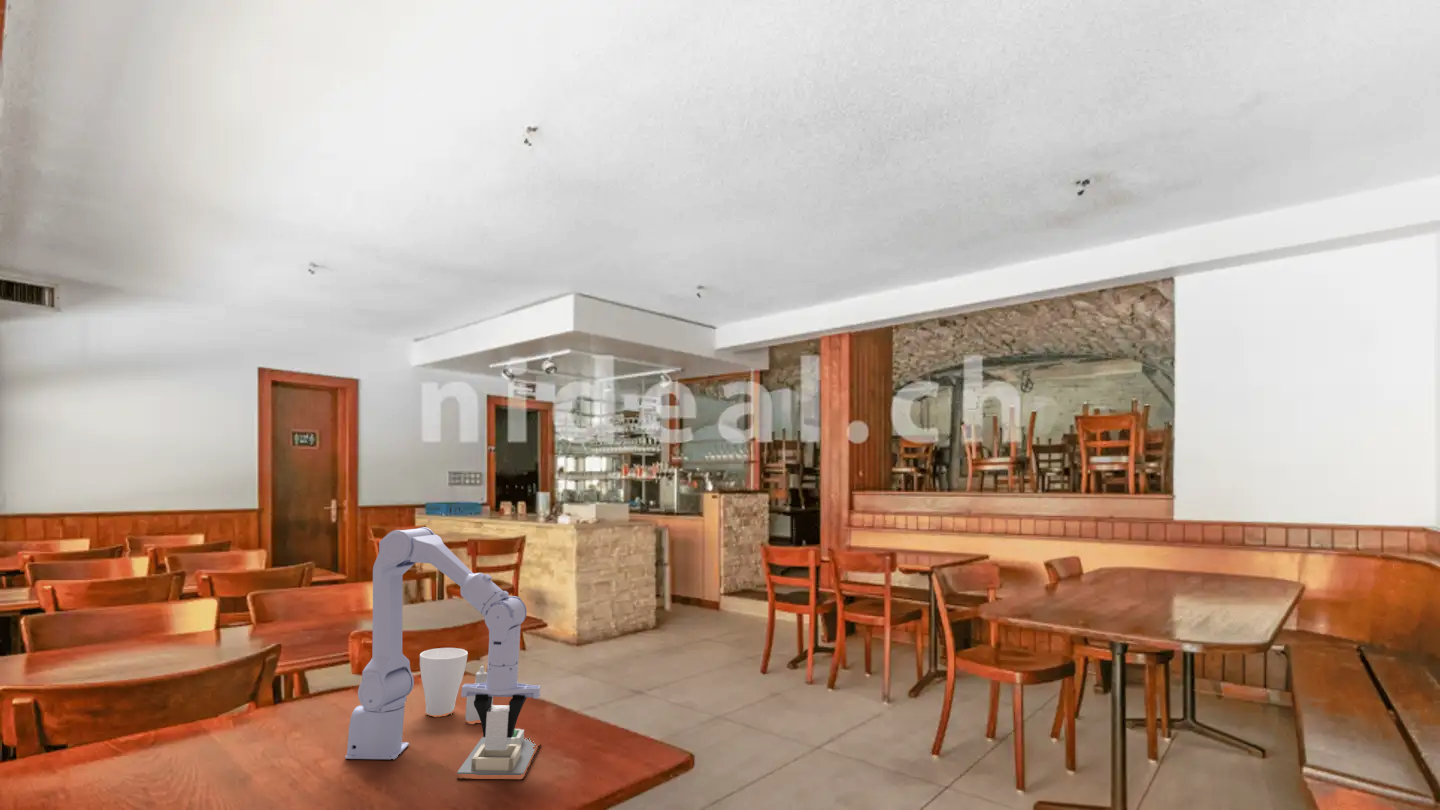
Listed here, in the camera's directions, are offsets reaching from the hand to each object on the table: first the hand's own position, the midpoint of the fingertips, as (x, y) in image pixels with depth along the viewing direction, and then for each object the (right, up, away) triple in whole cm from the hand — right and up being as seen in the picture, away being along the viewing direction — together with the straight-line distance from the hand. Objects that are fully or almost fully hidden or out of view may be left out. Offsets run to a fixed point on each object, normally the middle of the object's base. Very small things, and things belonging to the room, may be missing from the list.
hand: (498, 735), depth 143 cm
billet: (0, -2, 0) cm, 2 cm away
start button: (-1, -5, +9) cm, 10 cm away
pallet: (-1, -6, +3) cm, 7 cm away
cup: (-22, -8, +29) cm, 37 cm away
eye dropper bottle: (-12, -8, +25) cm, 29 cm away
